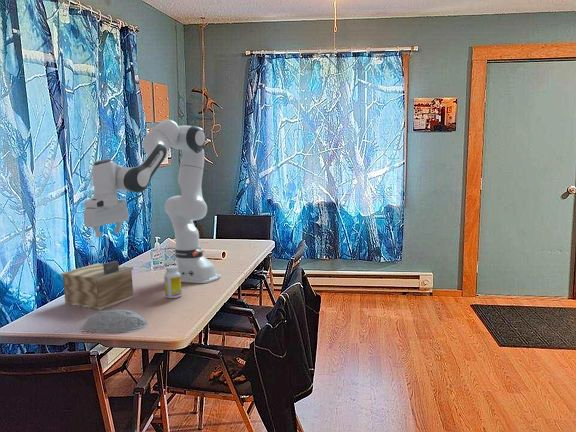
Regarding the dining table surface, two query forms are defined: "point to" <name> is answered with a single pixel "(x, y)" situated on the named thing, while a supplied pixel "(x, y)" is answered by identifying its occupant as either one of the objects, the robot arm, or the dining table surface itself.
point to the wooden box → (98, 290)
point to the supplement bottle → (172, 282)
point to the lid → (98, 271)
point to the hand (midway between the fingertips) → (108, 235)
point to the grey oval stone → (115, 321)
